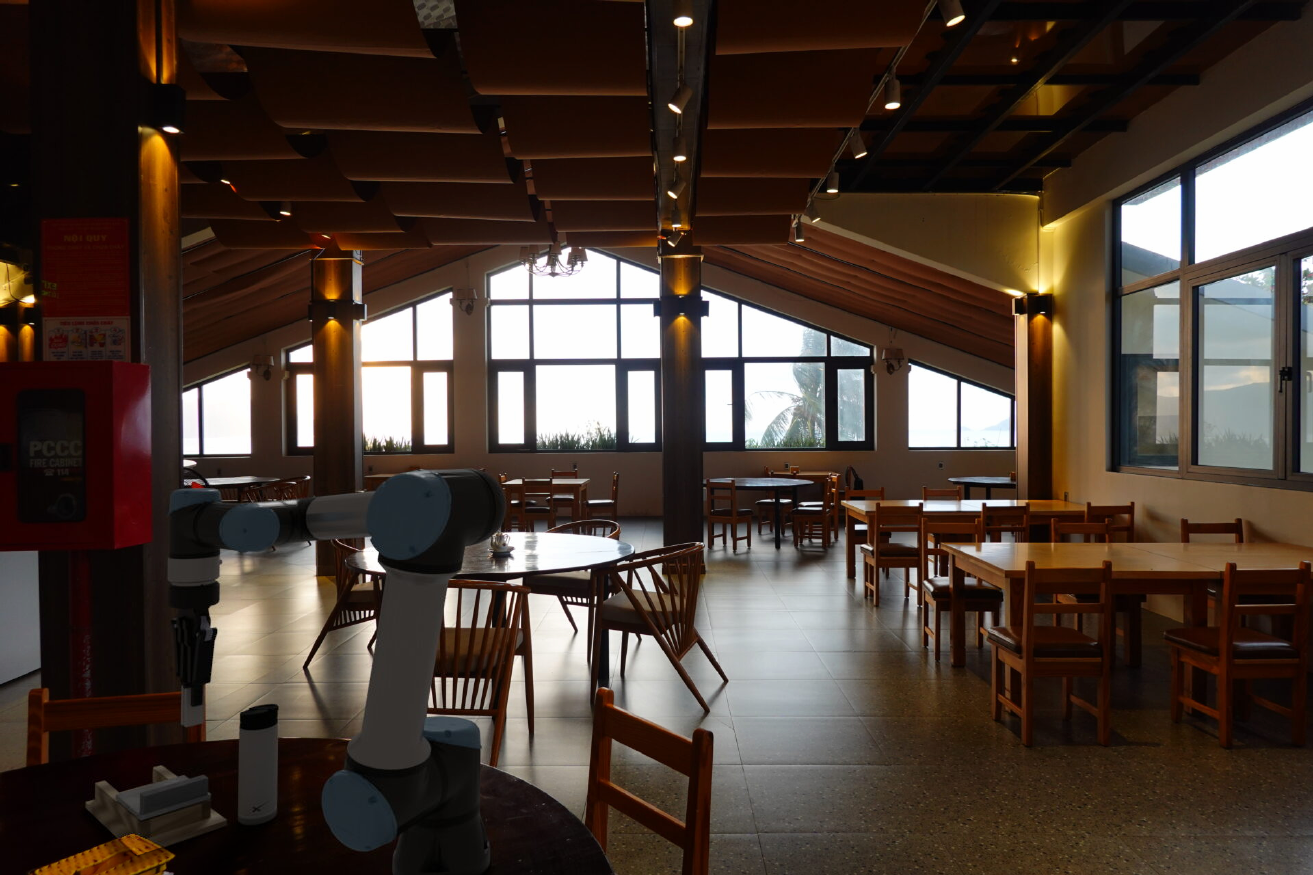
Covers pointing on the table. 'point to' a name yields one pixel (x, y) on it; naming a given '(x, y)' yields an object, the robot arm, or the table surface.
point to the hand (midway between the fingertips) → (192, 723)
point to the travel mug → (258, 764)
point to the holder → (158, 827)
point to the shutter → (165, 796)
